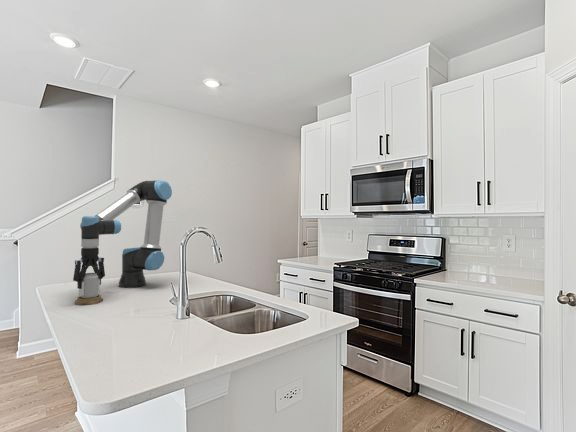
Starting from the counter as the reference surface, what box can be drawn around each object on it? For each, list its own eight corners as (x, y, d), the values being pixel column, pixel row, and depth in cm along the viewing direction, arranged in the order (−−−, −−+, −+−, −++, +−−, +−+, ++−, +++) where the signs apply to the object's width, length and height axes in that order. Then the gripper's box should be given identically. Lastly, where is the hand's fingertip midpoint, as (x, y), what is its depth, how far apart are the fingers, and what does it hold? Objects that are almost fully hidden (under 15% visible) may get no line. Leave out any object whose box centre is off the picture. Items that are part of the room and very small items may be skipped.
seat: (105, 298, 174) (105, 293, 174) (100, 304, 163) (100, 298, 163) (78, 299, 170) (78, 294, 170) (71, 305, 159) (71, 300, 159)
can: (91, 299, 162) (91, 275, 162) (76, 299, 163) (77, 274, 163) (101, 296, 170) (101, 272, 170) (87, 295, 170) (88, 271, 170)
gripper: (104, 245, 177) (103, 288, 177) (64, 248, 159) (63, 296, 159) (113, 246, 174) (113, 290, 174) (74, 249, 155) (73, 298, 156)
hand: (89, 293), depth 166 cm, fingers closed on can, 7 cm apart
